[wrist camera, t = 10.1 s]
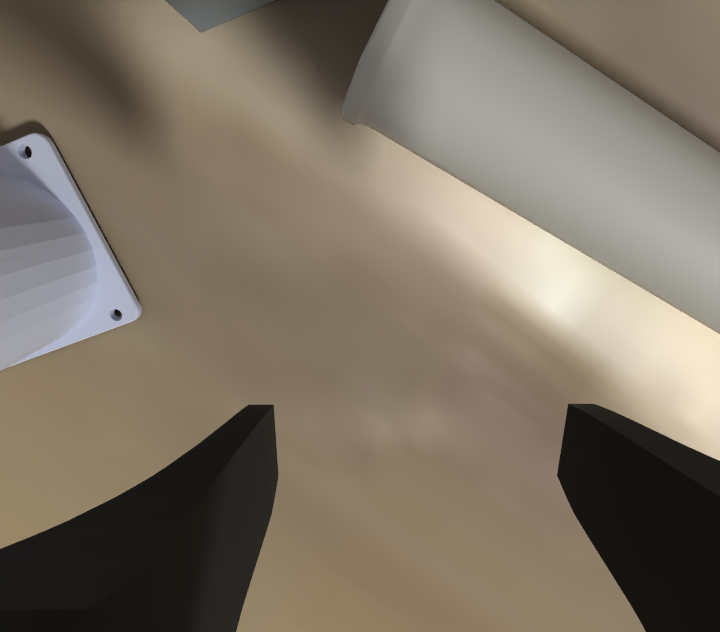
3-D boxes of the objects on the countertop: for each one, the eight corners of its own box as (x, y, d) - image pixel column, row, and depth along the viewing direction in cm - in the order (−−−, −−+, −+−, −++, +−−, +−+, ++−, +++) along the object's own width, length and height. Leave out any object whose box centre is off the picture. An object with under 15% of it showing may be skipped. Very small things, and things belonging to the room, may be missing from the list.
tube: (1034, 314, 16) (440, -103, 12) (977, 450, 16) (352, 67, 12) (849, 312, 21) (393, 20, 17) (804, 413, 21) (331, 140, 17)
